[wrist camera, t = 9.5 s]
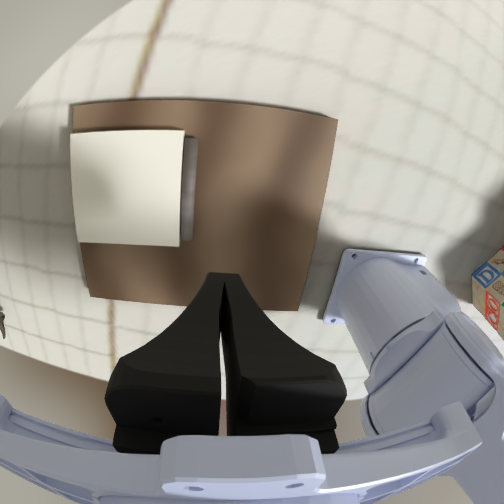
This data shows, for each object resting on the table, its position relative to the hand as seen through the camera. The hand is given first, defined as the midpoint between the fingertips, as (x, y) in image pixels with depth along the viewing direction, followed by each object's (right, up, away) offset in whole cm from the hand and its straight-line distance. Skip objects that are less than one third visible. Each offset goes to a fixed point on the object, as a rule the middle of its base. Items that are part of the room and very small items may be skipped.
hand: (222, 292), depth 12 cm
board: (-3, +5, +8) cm, 10 cm away
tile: (-7, +6, +5) cm, 11 cm away
